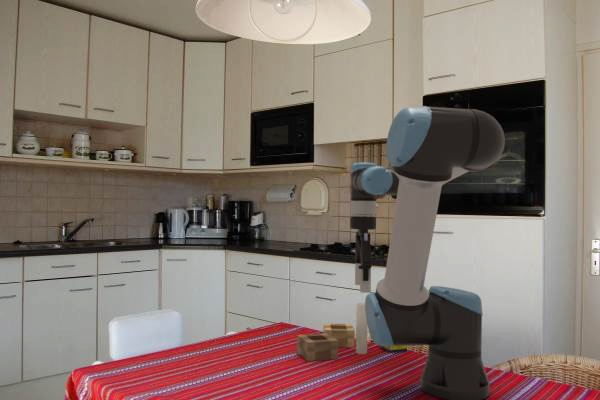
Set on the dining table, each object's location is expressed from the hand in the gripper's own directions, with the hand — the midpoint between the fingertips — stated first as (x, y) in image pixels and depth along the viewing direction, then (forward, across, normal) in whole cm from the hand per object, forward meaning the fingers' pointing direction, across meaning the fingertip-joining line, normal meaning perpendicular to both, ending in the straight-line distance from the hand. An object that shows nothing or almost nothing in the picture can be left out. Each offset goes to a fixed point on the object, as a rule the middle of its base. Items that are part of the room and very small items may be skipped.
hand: (362, 288), depth 147 cm
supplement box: (+19, +4, -10) cm, 22 cm away
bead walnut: (+18, -4, +13) cm, 23 cm away
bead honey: (+18, +10, +6) cm, 22 cm away
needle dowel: (+18, 0, 0) cm, 19 cm away
